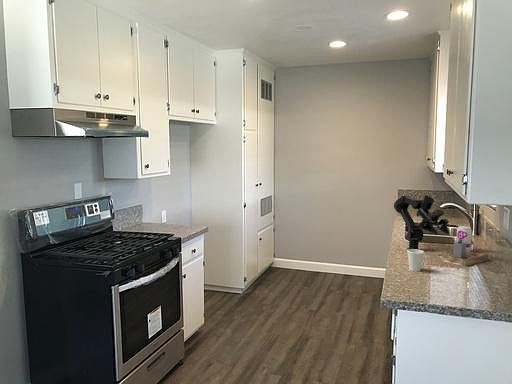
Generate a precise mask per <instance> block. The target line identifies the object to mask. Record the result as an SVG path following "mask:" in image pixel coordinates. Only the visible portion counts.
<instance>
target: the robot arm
mask: <svg viewBox="0 0 512 384" xmlns="http://www.w3.org/2000/svg"><path fill="white" fill-rule="evenodd" d="M434 203H435V199H434V198H433V197H431V196H429V195H424V196H423V199H418V198H414V197H411V196H410V195H402V196H400V198H399V199H397V200H395V201H394V203H393V208H394V210H395V211H396V212H397V213H399V214H400V215H401V218H402V219H403V221H404V224H405V225H406V227H407V233H406V235H405V240H406V241H408V247H406V249H407V250H410V249H417V250H421V249H420V248H419V244H420V241H421V242H422V241H423V238H424V234H425V233H424V231H427V232H429V233H432V234H434V235H439V233H438V231H437V229H435V227H437V228H438V229H439V230H440V232H443V233H444V234H446V235H450V230H449V229H448V224H449V223H450V221H449V220H448V218H441V219H440V217H441V216H444V215H445V211H444V210H442V209H434V210H433V211H432V212H431V211H430V210H431V209H432V207H433V205H434ZM409 206H411V208H412V209H413V210H417V211H416V217H421V219H422V220H421V222H420V223H419V224H416V223H415V222H414V219H413V217H412V215H411V213H410V212H409V210H408V209H409ZM423 230H424V231H423Z"/></svg>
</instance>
